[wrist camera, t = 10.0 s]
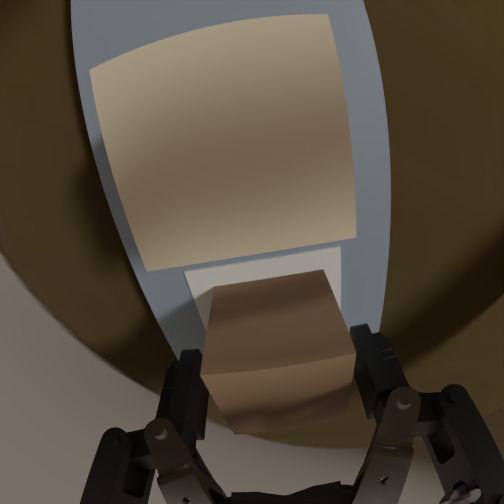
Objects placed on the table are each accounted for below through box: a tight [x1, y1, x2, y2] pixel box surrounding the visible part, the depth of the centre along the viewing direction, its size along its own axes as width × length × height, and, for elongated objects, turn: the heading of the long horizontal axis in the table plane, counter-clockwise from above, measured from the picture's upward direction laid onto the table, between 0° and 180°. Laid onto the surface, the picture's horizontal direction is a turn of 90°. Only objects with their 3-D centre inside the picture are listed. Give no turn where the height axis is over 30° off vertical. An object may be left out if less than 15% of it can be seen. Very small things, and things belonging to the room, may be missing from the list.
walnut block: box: [200, 269, 356, 434], centre depth 11 cm, size 5×5×5 cm
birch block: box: [89, 14, 356, 272], centre depth 7 cm, size 5×5×5 cm
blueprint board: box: [71, 0, 391, 361], centre depth 11 cm, size 26×12×1 cm, turn 10°
